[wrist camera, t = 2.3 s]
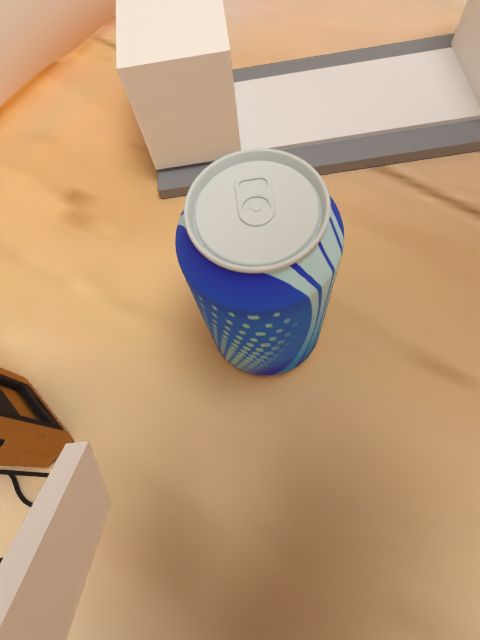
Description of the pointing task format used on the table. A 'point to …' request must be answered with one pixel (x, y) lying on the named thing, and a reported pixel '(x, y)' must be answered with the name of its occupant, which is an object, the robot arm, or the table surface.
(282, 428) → the table surface
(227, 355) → the beer can
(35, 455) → the multimeter
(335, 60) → the rail board
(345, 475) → the table surface
